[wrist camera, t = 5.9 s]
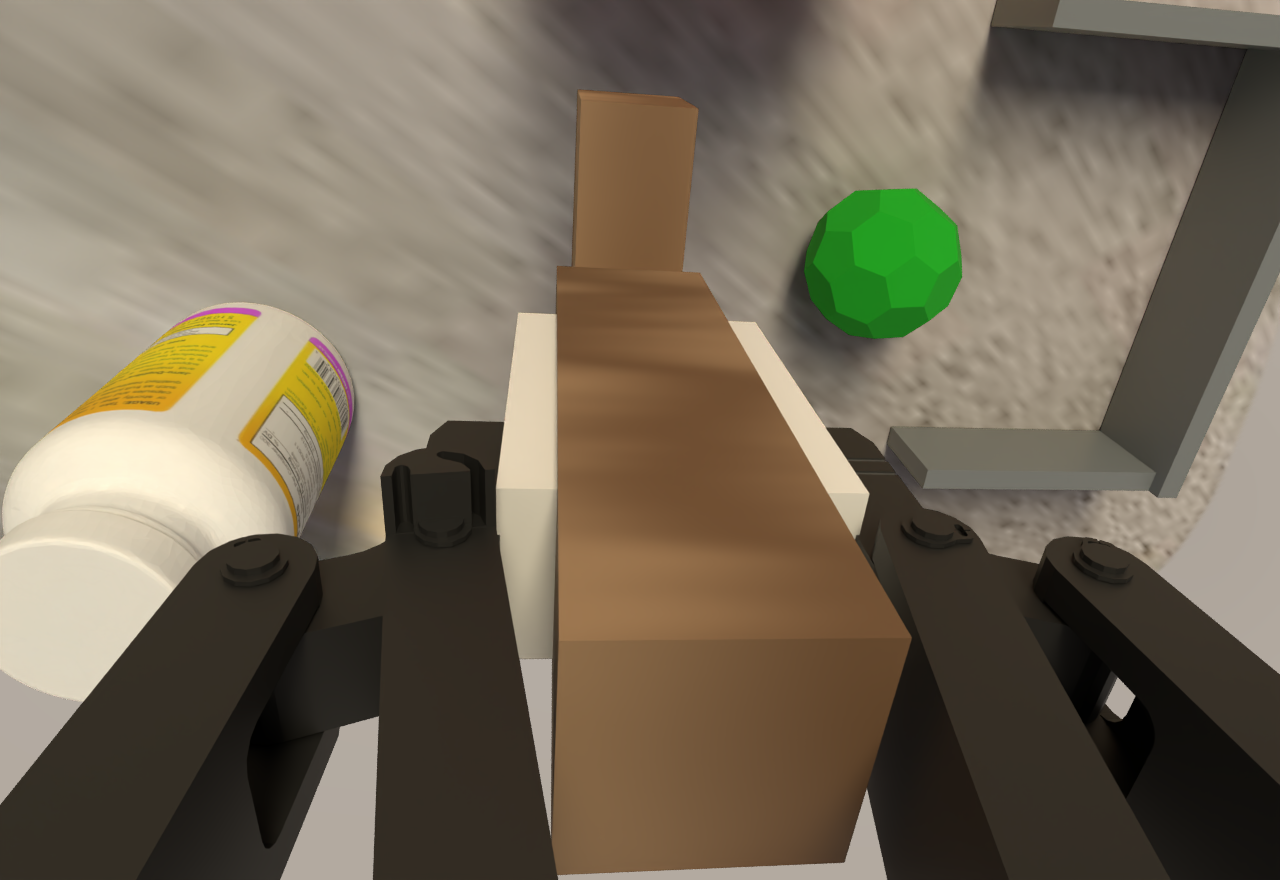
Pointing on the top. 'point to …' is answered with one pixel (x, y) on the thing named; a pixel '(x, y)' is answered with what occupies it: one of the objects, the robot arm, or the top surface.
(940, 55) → the top surface
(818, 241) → the polyhedron
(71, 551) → the supplement bottle
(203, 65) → the top surface
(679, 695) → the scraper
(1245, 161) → the tray
